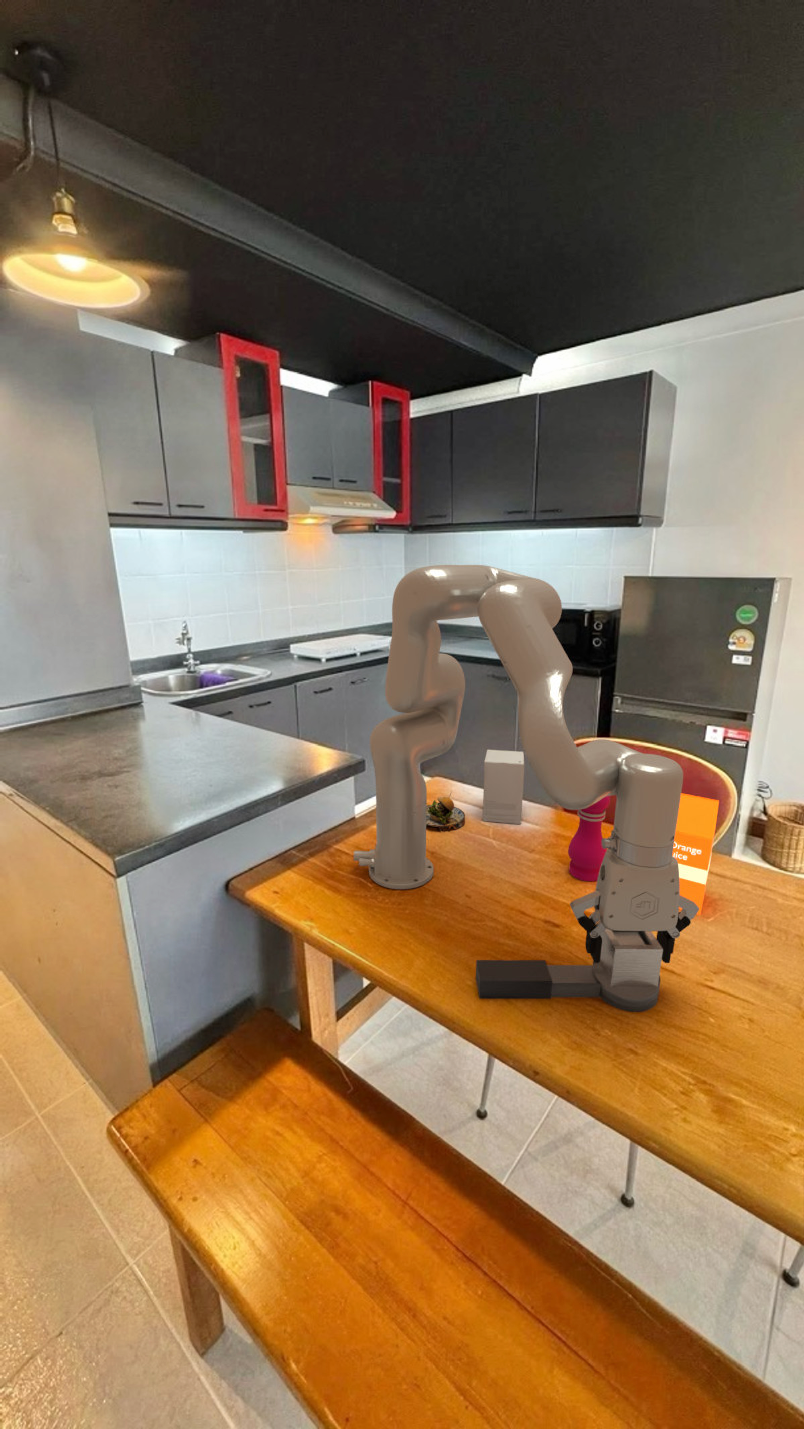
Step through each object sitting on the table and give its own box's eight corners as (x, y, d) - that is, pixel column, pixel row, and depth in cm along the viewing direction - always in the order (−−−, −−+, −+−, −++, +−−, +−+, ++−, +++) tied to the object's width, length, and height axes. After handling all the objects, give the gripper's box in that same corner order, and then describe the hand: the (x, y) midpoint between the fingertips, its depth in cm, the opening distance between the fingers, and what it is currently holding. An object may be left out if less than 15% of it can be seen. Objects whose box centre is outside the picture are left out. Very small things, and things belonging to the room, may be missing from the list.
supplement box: (521, 809, 141) (525, 751, 137) (521, 825, 132) (525, 763, 128) (484, 805, 143) (486, 748, 139) (481, 821, 134) (484, 760, 130)
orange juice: (700, 915, 99) (718, 808, 94) (646, 899, 104) (659, 797, 99) (705, 893, 106) (721, 792, 100) (653, 879, 110) (666, 782, 105)
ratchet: (481, 1011, 78) (484, 961, 76) (473, 966, 87) (475, 920, 85) (669, 1012, 78) (676, 962, 76) (642, 966, 87) (648, 920, 85)
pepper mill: (600, 864, 116) (610, 771, 110) (609, 884, 109) (620, 785, 103) (563, 862, 116) (571, 769, 111) (569, 882, 109) (578, 784, 104)
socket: (610, 986, 79) (615, 949, 77) (595, 955, 85) (599, 920, 83) (657, 986, 79) (663, 949, 77) (639, 955, 85) (643, 920, 83)
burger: (416, 809, 141) (417, 780, 139) (465, 811, 140) (466, 783, 138) (412, 831, 130) (412, 801, 128) (465, 834, 128) (466, 803, 126)
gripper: (585, 861, 73) (574, 975, 78) (721, 861, 73) (702, 975, 78) (568, 833, 80) (559, 939, 85) (692, 834, 80) (676, 939, 85)
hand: (627, 956), depth 81 cm, fingers open, 9 cm apart
